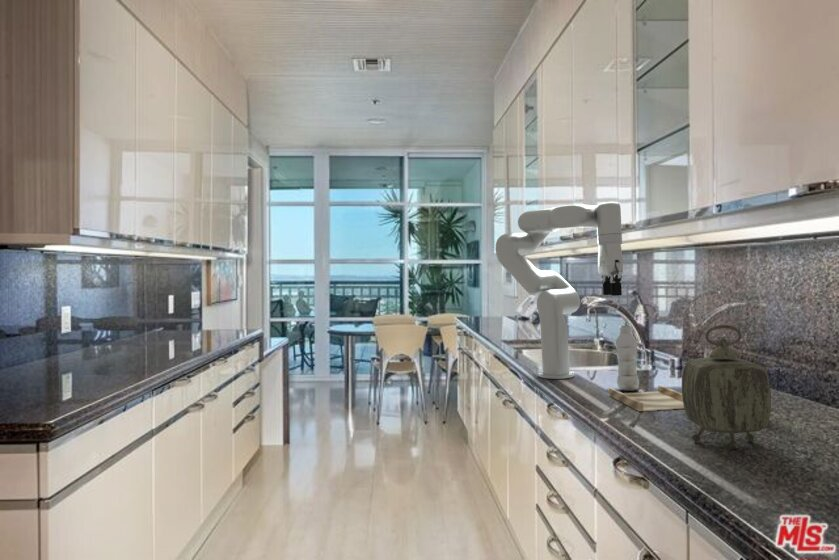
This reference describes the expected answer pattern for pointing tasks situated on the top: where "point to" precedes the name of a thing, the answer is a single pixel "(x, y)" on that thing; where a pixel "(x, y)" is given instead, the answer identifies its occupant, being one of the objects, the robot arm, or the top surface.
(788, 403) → the top surface
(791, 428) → the top surface
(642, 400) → the wooden tray
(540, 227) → the robot arm
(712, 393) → the tabletop clock
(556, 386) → the top surface
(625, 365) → the plastic bottle
